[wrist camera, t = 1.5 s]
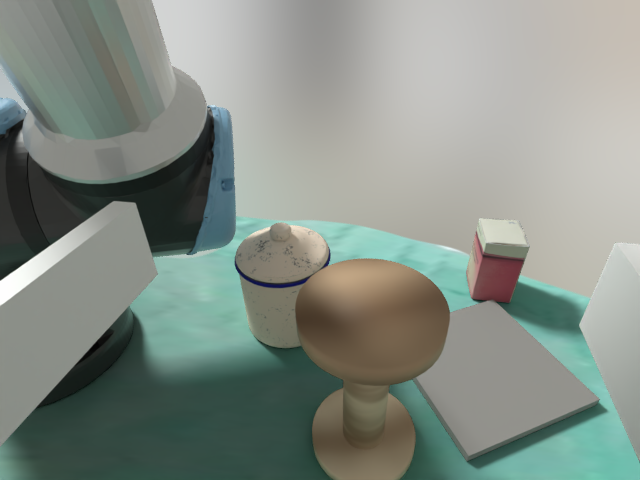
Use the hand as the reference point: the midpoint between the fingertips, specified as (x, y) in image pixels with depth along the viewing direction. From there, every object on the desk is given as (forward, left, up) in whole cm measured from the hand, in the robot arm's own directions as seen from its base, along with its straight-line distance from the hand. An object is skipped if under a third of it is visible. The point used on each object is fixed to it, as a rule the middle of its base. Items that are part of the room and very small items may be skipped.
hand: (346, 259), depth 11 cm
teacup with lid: (-23, +4, -24) cm, 34 cm away
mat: (-9, +18, -24) cm, 31 cm away
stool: (-7, +5, -24) cm, 26 cm away
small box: (-18, +26, -24) cm, 40 cm away
